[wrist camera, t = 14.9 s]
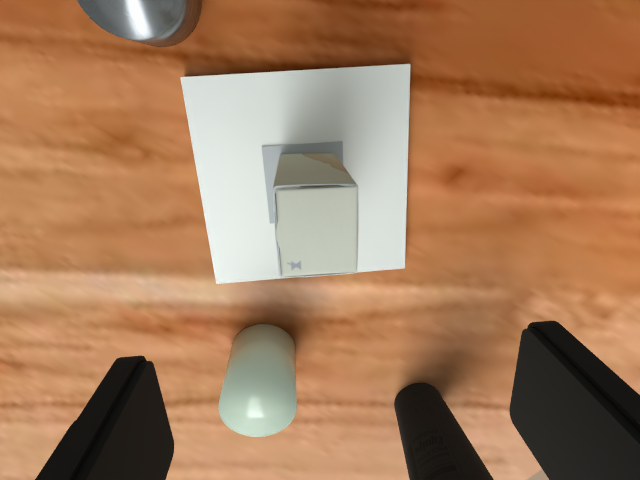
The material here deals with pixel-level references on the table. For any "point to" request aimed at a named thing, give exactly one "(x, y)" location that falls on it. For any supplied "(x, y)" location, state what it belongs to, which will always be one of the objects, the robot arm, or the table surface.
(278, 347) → the pale green capsule
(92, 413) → the robot arm
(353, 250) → the box
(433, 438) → the drinking cup
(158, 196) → the table surface
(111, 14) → the dark tin
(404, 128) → the white square plate
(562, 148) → the table surface
